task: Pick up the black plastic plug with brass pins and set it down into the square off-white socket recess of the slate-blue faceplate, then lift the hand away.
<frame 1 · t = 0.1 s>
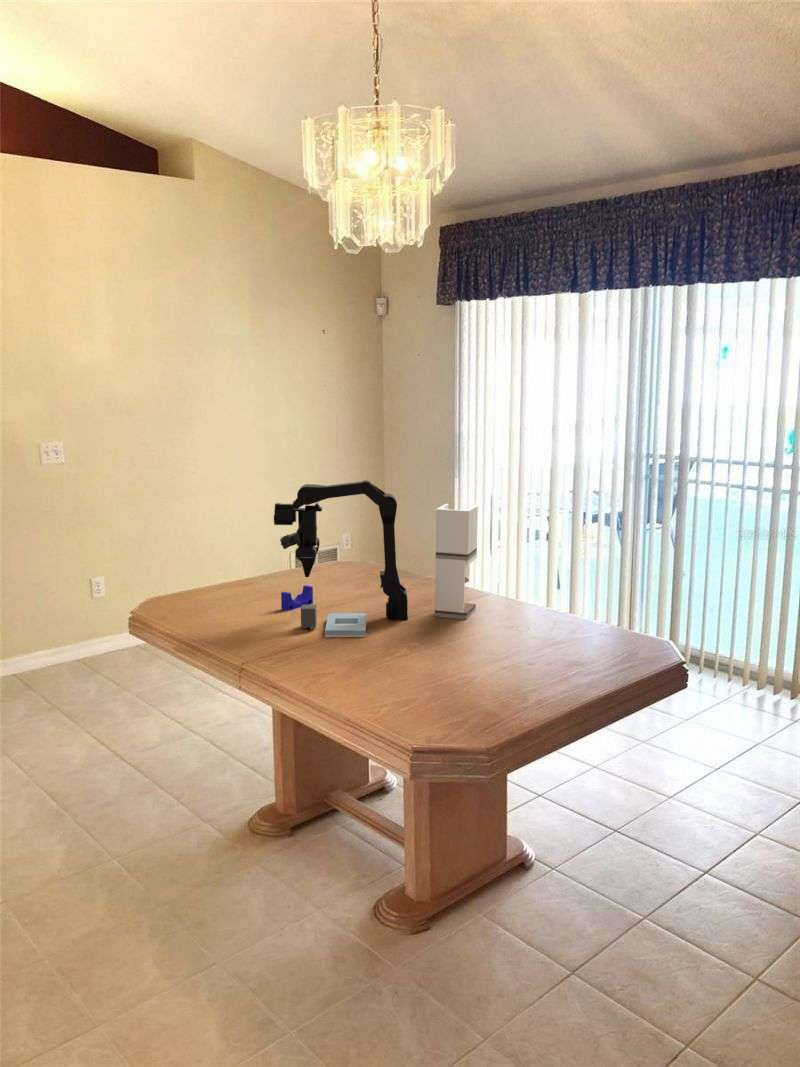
hand: (308, 573, 275), 15 cm above the table, tool pointing down, fingers open, 9 cm apart
blue notched cradle: (295, 607, 292), on the table
socket: (346, 627, 268), on the table
white dispenser: (455, 613, 284), on the table
plug: (308, 627, 268), on the table
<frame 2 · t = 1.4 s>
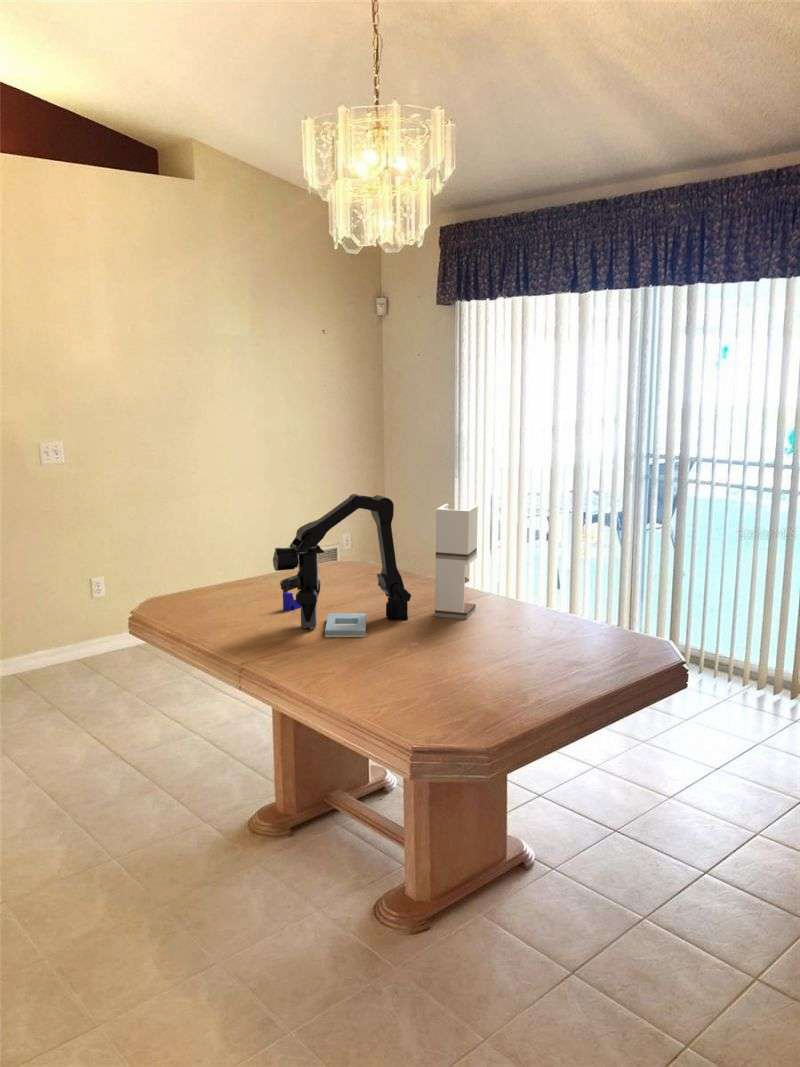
hand: (309, 617, 267), 3 cm above the table, tool pointing down, fingers open, 9 cm apart
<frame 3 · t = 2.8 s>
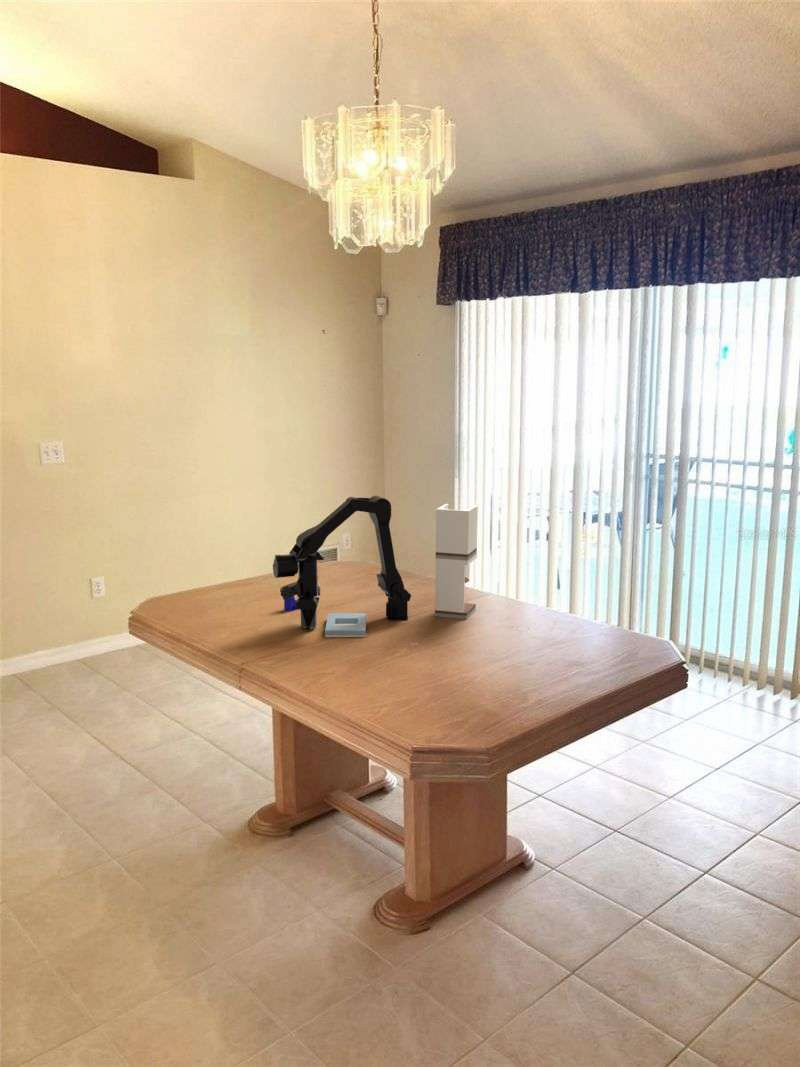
hand: (308, 624, 267), 1 cm above the table, tool pointing down, fingers closed on plug, 4 cm apart
plug: (308, 627, 268), on the table, touching gripper
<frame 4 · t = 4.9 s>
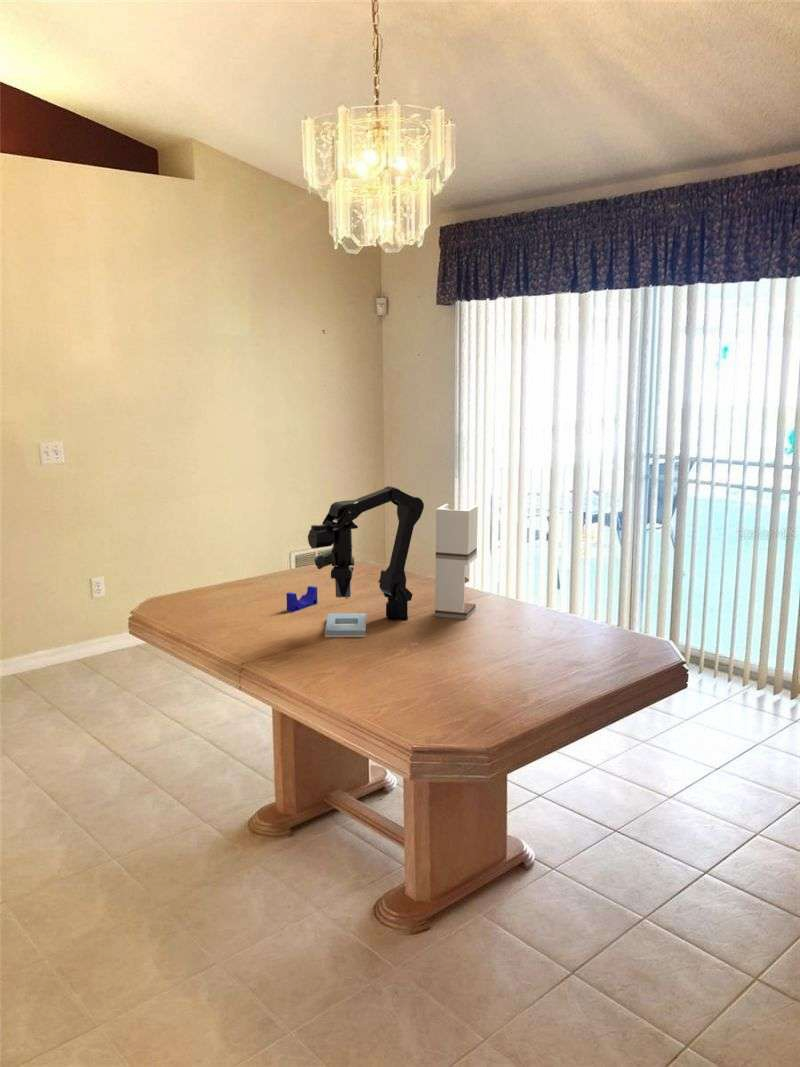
hand: (343, 594, 266), 11 cm above the table, tool pointing down, fingers closed on plug, 4 cm apart
plug: (343, 597, 266), point 9 cm above the table, touching gripper
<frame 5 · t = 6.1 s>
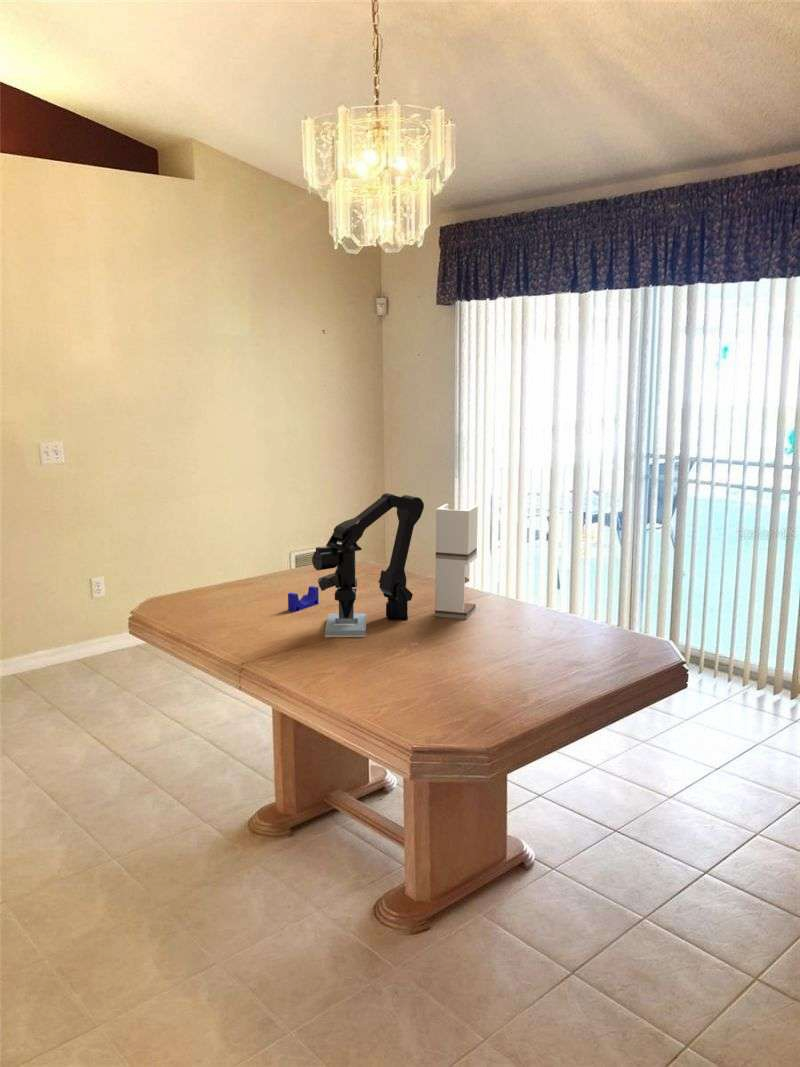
hand: (346, 615, 267), 4 cm above the table, tool pointing down, fingers closed on plug, 4 cm apart
plug: (346, 619, 267), point 3 cm above the table, touching gripper
when the fingers open (3 cm above the table, at t = 7.0 s): plug drops 1 cm, resting on socket.
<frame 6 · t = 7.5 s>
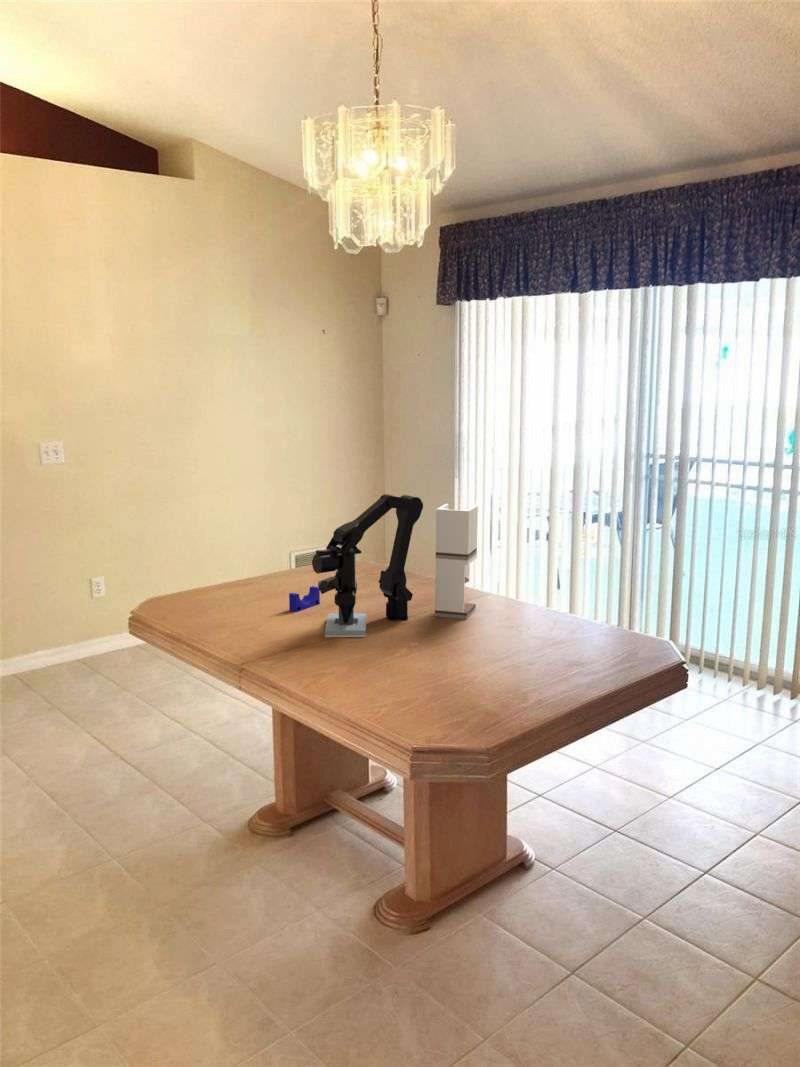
hand: (346, 618, 267), 3 cm above the table, tool pointing down, fingers open, 9 cm apart
plug: (346, 626, 268), resting on socket
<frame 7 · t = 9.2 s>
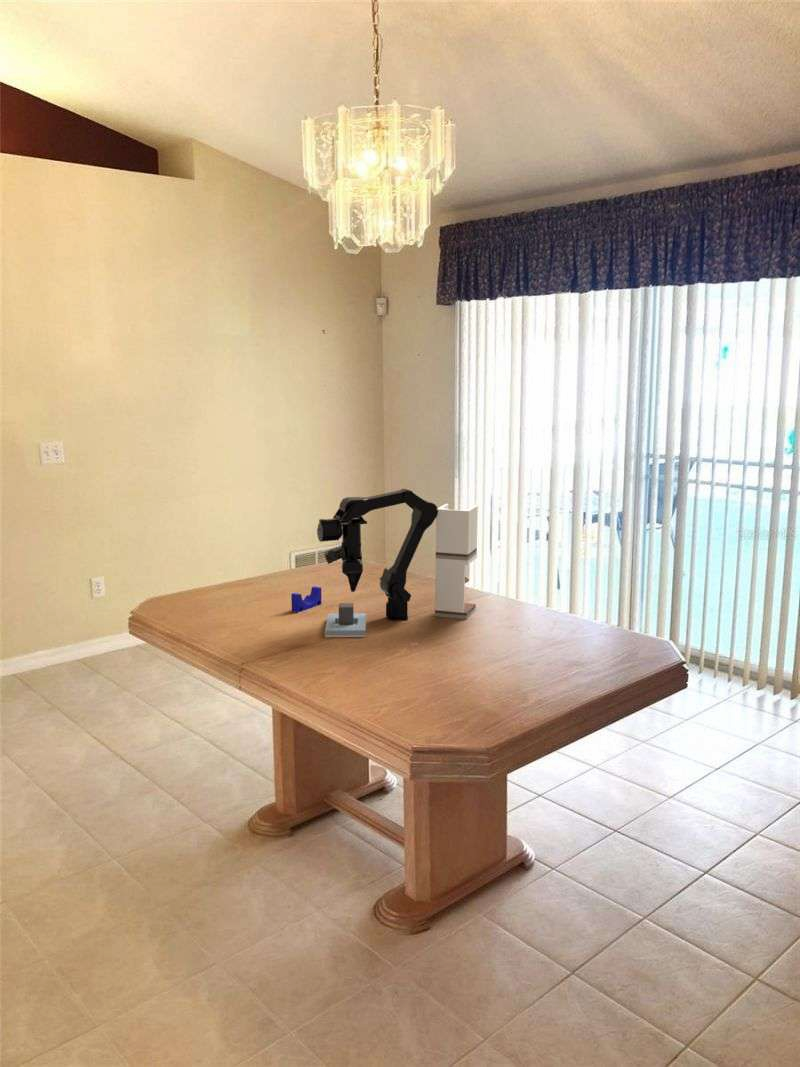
hand: (352, 587, 271), 11 cm above the table, tool pointing down, fingers open, 9 cm apart
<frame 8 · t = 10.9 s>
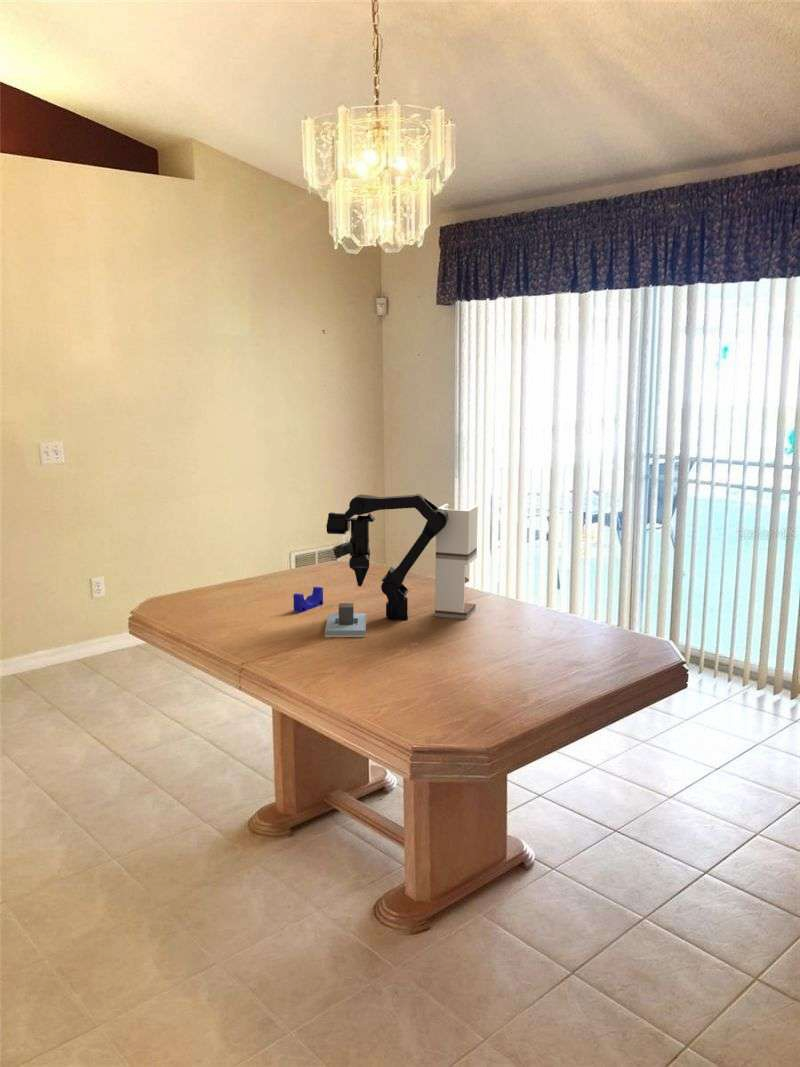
hand: (360, 582, 279), 11 cm above the table, tool pointing down, fingers open, 9 cm apart
at the end: plug 0.0 cm off-centre on the socket, point 0.4 cm above the socket's base; plug tilted 0°; the gripper is holding nothing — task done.
